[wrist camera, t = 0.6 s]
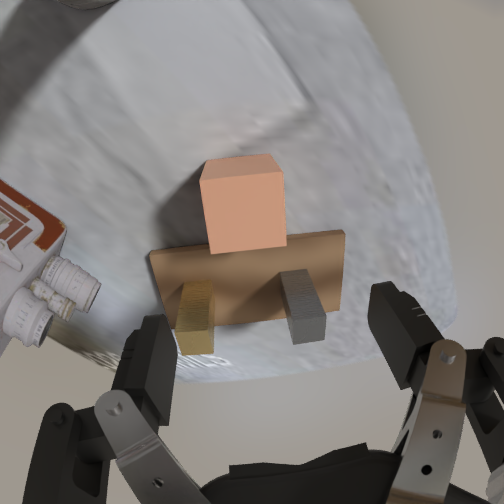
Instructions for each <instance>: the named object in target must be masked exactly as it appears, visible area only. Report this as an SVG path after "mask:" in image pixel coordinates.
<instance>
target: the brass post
mask: <svg viewBox="0 0 504 504" xmlns="http://www.w3.org/2000/svg"><path fill="white" fill-rule="evenodd" d="M214 325H215V297H214V291H213V286H212V281H211V279H210V280H200V281H191V282H184V286H183V290H182V295H181V301H180V306H179V311H178V316H177V322H176V327H175V336H176V339H177V342H178V345H179V348H180V350H181V353H182V356H184V355H200V354H213V353H214Z"/></svg>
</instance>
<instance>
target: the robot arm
mask: <svg viewBox="0 0 504 504" xmlns="http://www.w3.org/2000/svg"><path fill="white" fill-rule="evenodd" d="M56 1H59V2H61V3H63V4H65V5H68V6H70V7H72V8H75V9H82V10H84V9H94V8H97V7H101V6H104V5H106V4H109V3H111V2H113V1H115V0H56ZM368 324H369V328H370V330H371V332H372V334H373V336H374V338H375V340H376V341H377V343H378V345H379V347H380V349H381V351H382V353H383V355H384V357H385V359H386V361H387V363H388V365H389V367H390V369H391V371H392V373H393V375H394V377H395V379H396V381H397V383H398V385H399V387H400V390H403V389H406V388H409V387H411V389H412V391H413V393H412V396H411V399H410V402H409V405H408V408H407V411H406V415H405V418H404V421H403V424H402V427H401V430H400V432H399V435H398V437H397V440H396V442H395V444H394V446H393V448H392V450H391V452H388V451H383V450H368V448H367V445H366V443H361V444H358V445H354V446H350V447H346V448H342V449H338V450H333V451H331V452H329V453H327V454H325V455H323V456H321V457H318V458H316V459H314V460H311V461H309V462H307V463H304V464H301V465H288V464H275V463H253V464H242V465H229V473H228V474H225V475H222V476H220V477H217V478H215V479H214V480H212V481H210V482H208V483H207V484H205V485H204V486H203V487H202V488H201V487H200V486H199V485H198V484H197V483H196V482H195V480H194V479H193V478H192V477H191V476H190V475H189V474H188V473H187V471H186V470H185V469H184V468H183V467H182V465H181V464H180V463H179V462H178V460H177V459H176V458H175V457H174V456H173V454H172V453H171V452H170V450H169V449H168V448H167V446H166V445H165V444H164V442H163V441H162V440H161V438H160V437H159V436H158V429H159V426H169V419H170V409H171V402H172V393H173V386H174V379H175V371H176V364H177V356H178V353H177V346H176V342H175V339H174V337H173V334H172V332H171V329H170V326H169V324H168V321H167V318H166V316H165V315H164V314H160V315H150V316H145V317H144V319H143V322H142V326H141V329H139V330H134V331H133V332H132V333H131V335H130V336H129V337H128V338H127V340H126V343H125V346H124V349H123V350H124V351H123V352H122V355H121V360H120V361H119V365H118V368H117V371H116V374H115V378H114V381H113V384H112V388H111V391H108V392H106V393H104V394H103V395H102V396H100V397H99V399H98V400H97V401H96V404H95V406H93V407H89V408H85V409H81V410H77V411H74V409H73V408H72V407H71V406H70V405H68V404H66V403H57V404H54V405H52V406H51V407H50V408H49V409H48V410H47V411H46V412H45V414H44V417H43V420H42V423H41V426H40V430H39V433H38V437H37V440H36V444H35V448H34V452H33V455H32V459H31V464H30V468H29V472H28V477H27V481H26V486H25V491H24V496H23V502H22V504H106V498H107V486H108V476H109V468H110V460H112V459H117V460H116V464H117V466H118V468H119V470H120V471H121V473H122V475H123V476H124V478H125V480H126V481H127V483H128V485H129V486H130V487H131V489H132V491H133V492H134V494H135V495H136V497H137V499H138V500H139V501H140V503H141V504H504V410H503V408H502V406H501V404H500V402H499V400H498V398H497V396H496V395H495V393H494V390H495V389H496V391H497V393H498V395H499V397H500V398H501V400H502V402H503V404H504V339H503V338H500V337H492V338H490V339H488V340H487V341H486V343H485V345H484V347H483V349H468V350H466V349H464V348H463V347H462V346H461V345H460V344H459V343H457V342H456V341H453V340H449V339H444V337H443V336H442V335H441V333H440V332H439V330H438V329H437V328H436V326H435V325H434V323H433V322H432V321H431V319H430V318H429V317H428V315H426V313H425V311H424V310H423V309H422V308H421V306H420V305H419V303H418V302H417V301H416V299H415V298H414V297H412V296H411V295H409V294H408V293H406V292H405V291H402V292H399V290H398V289H397V288H396V286H395V285H394V284H393V282H391V281H387V282H382V283H377V284H373V285H372V287H371V293H370V301H369V308H368ZM465 413H466V415H467V417H468V419H469V421H470V424H471V426H472V428H473V430H474V433H475V434H476V437H477V440H478V442H479V444H480V446H481V449H482V451H483V454H484V457H485V459H486V462H487V464H488V467H489V470H490V472H491V475H490V477H489V480H488V487H487V488H486V495H487V496H488V501H486V500H484V499H482V498H480V497H478V496H475V495H473V494H471V493H469V492H467V491H465V490H463V489H461V488H459V487H457V486H455V485H453V484H451V483H449V482H450V479H451V475H452V472H453V468H454V464H455V461H456V456H457V452H458V448H459V444H460V439H461V434H462V429H463V424H464V417H465Z"/></svg>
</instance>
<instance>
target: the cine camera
mask: <svg viewBox="0 0 504 504" xmlns="http://www.w3.org/2000/svg"><path fill="white" fill-rule="evenodd" d="M66 232H67V227H66V225H65V224H64V222H62V221H61V220H60V219H59V218H57V217H56V216H54V215H53V214H51V213H50V212H48V211H47V210H45V209H44V208H42V207H41V206H39V205H38V204H36V203H35V202H33V201H32V200H30V199H29V198H28V197H26V196H25V195H23V194H22V193H20V192H19V191H17V190H16V189H14V188H13V187H12V186H10V185H9V184H7V183H6V182H5V181H3V180H2V179H0V357H1V355H2V353H3V352H4V350H5V348H6V347H7V345H8V344H9V342H10V340H11V339H12V337H16V338H18V339H19V340H20V341H22V342H23V345H25V346H26V347H29V346H31V345H32V344H34V345H36V346H37V347H38V348H39V347H40V346H41V345H42V343H43V341H44V339H45V338H46V336H47V334H48V331H49V329H50V327H51V324H52V321H53V318H54V313H56V314H58V317H60V318H62V319H63V320H66V321H67V322H68V321H69V319H70V318H71V316H72V314H73V311H74V309H75V308H76V309H77V310H79V311H81V312H83V311H84V312H86V313H88V311H89V309H90V307H91V305H92V303H93V301H94V299H95V297H96V295H97V293H98V291H99V289H100V286H101V283H100V282H98V280H97V279H96V278H94V277H92V276H91V275H90V274H89V273H88V272H86V271H84V270H83V269H81V267H80V266H78V265H74V264H72V263H71V261H70V260H69V259H63V258H61V257H60V256H59V253H60V250H61V247H62V244H63V241H64V238H65V235H66ZM48 309H49V310H51V311H53V312H54V313H53V312H51V311H49V310H48Z"/></svg>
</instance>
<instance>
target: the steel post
mask: <svg viewBox="0 0 504 504" xmlns="http://www.w3.org/2000/svg"><path fill="white" fill-rule="evenodd" d="M280 293H281V298H282V302H283V306H284V310H285V314H286V318H287V322H288V326H289V330H290V334H291V338H292V342H293V345H295V344H301V343H308V342H315V341H321V340H324V339H325V328H326V314H325V311H324V309H323V306H322V304H321V301H320V299H319V297H318V294H317V292H316V289H315V287H314V285H313V282H312V280H311V277H310V275H309V273H308V270H307V269H299V270H291V271H282V272H280Z"/></svg>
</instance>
